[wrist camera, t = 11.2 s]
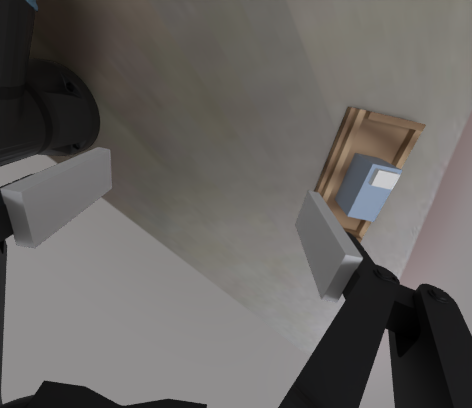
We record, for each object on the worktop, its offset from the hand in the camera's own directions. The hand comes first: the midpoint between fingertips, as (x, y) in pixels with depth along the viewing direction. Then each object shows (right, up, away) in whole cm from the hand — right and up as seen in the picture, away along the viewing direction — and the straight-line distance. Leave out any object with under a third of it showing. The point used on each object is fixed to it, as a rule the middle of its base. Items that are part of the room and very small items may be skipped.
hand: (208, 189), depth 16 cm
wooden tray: (+24, +4, +27) cm, 37 cm away
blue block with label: (+23, +3, +26) cm, 35 cm away
